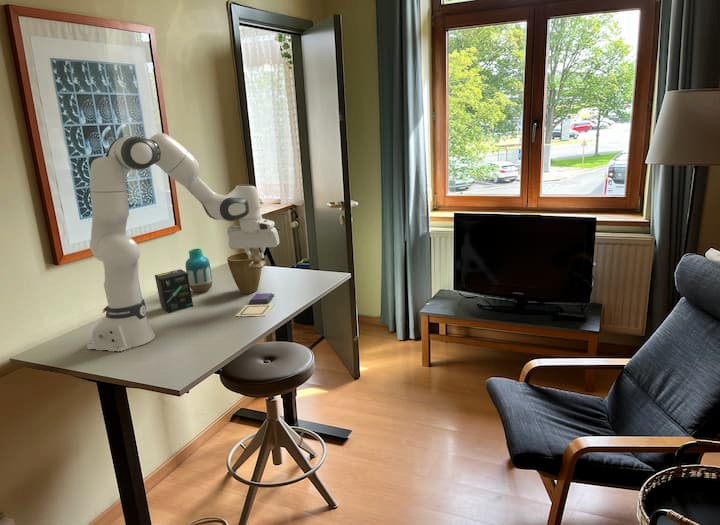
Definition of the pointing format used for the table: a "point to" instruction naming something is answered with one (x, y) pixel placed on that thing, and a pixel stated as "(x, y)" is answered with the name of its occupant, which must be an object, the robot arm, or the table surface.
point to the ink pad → (261, 298)
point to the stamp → (256, 259)
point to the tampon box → (174, 290)
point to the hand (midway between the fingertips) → (256, 258)
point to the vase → (198, 271)
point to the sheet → (255, 310)
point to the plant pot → (244, 272)
